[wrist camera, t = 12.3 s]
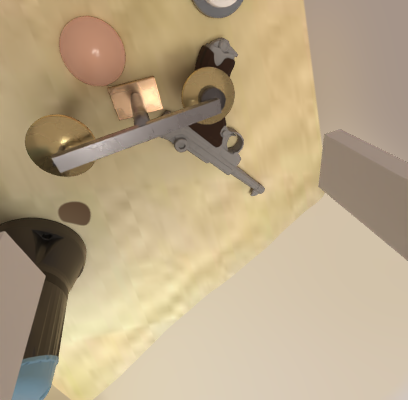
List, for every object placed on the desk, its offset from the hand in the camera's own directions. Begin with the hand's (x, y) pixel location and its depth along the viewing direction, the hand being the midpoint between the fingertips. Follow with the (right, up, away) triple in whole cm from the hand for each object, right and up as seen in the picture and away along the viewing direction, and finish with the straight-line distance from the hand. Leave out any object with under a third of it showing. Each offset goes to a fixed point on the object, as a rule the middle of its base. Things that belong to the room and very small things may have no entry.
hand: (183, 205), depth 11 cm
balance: (-8, +14, +24) cm, 29 cm away
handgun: (+6, +12, +31) cm, 34 cm away
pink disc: (-12, +18, +20) cm, 29 cm away
